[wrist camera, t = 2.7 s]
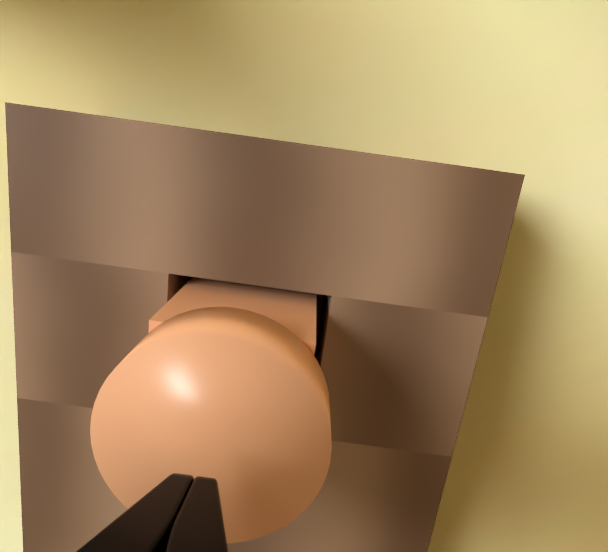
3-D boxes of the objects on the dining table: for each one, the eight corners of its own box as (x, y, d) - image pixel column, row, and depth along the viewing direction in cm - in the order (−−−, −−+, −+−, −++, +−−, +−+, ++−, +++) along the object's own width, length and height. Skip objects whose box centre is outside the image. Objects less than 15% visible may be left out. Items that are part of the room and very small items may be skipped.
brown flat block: (465, 169, 17) (524, 174, 12) (359, 641, 23) (370, 770, 18) (95, 117, 17) (5, 102, 12) (90, 605, 23) (30, 725, 18)
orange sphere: (337, 279, 14) (350, 351, 9) (314, 422, 15) (313, 557, 10) (175, 256, 14) (90, 316, 9) (166, 402, 15) (89, 527, 10)
